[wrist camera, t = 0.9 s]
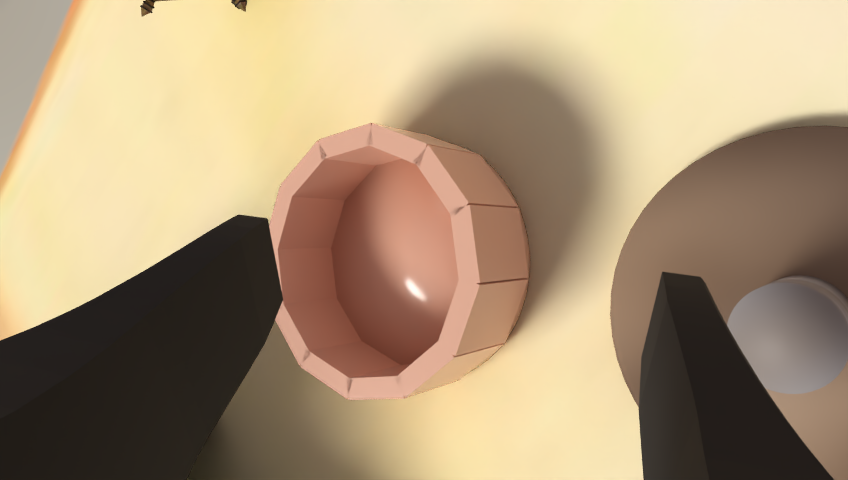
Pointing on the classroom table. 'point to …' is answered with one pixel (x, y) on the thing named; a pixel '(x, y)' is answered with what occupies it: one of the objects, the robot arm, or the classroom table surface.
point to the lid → (757, 270)
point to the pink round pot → (396, 262)
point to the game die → (148, 5)
